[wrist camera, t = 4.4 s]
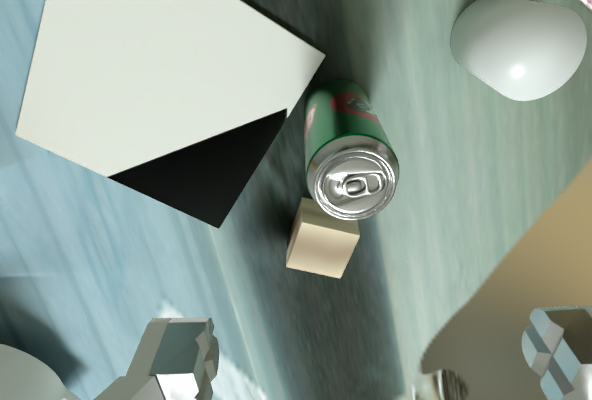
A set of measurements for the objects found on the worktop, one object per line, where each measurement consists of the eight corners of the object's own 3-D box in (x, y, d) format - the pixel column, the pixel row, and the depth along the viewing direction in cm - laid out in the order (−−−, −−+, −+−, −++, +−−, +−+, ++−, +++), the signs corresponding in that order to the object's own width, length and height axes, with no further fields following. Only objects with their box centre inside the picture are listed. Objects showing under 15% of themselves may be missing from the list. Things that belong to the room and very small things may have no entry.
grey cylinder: (485, 83, 29) (531, 116, 23) (435, 46, 28) (471, 71, 22) (539, 22, 27) (607, 40, 21) (487, -22, 25) (543, -16, 19)
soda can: (296, 86, 29) (295, 155, 19) (362, 69, 28) (398, 131, 18) (311, 145, 32) (317, 234, 22) (373, 131, 31) (408, 216, 21)
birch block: (336, 249, 38) (340, 278, 34) (287, 238, 37) (286, 266, 34) (354, 208, 35) (360, 235, 32) (301, 196, 35) (302, 222, 31)
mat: (219, 226, 36) (218, 228, 36) (18, 133, 31) (15, 134, 31) (325, 54, 28) (325, 55, 28) (73, -109, 23) (70, -110, 23)
